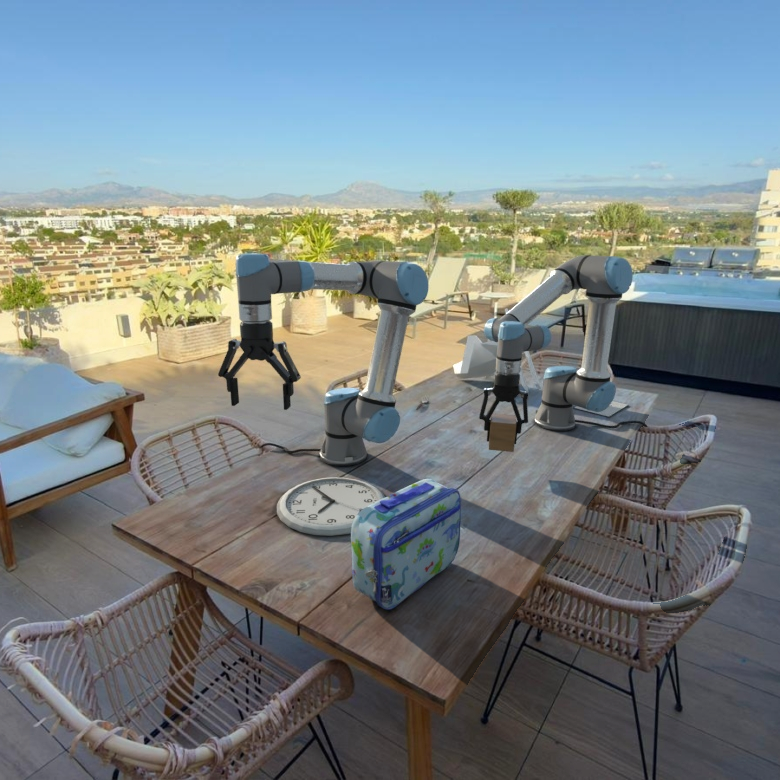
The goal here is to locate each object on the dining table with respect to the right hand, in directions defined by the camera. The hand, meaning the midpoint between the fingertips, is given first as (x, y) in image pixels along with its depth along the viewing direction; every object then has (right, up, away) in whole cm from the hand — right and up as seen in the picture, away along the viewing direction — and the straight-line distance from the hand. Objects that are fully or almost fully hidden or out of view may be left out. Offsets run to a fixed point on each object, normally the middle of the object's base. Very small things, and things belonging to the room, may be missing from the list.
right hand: (501, 441), depth 167 cm
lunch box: (-32, -25, -54) cm, 68 cm away
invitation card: (+56, +9, +59) cm, 82 cm away
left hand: (-68, +12, -38) cm, 78 cm away
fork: (-22, +10, +57) cm, 62 cm away
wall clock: (-51, -15, -24) cm, 59 cm away
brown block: (0, -2, 0) cm, 2 cm away
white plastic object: (+14, +18, +86) cm, 89 cm away
